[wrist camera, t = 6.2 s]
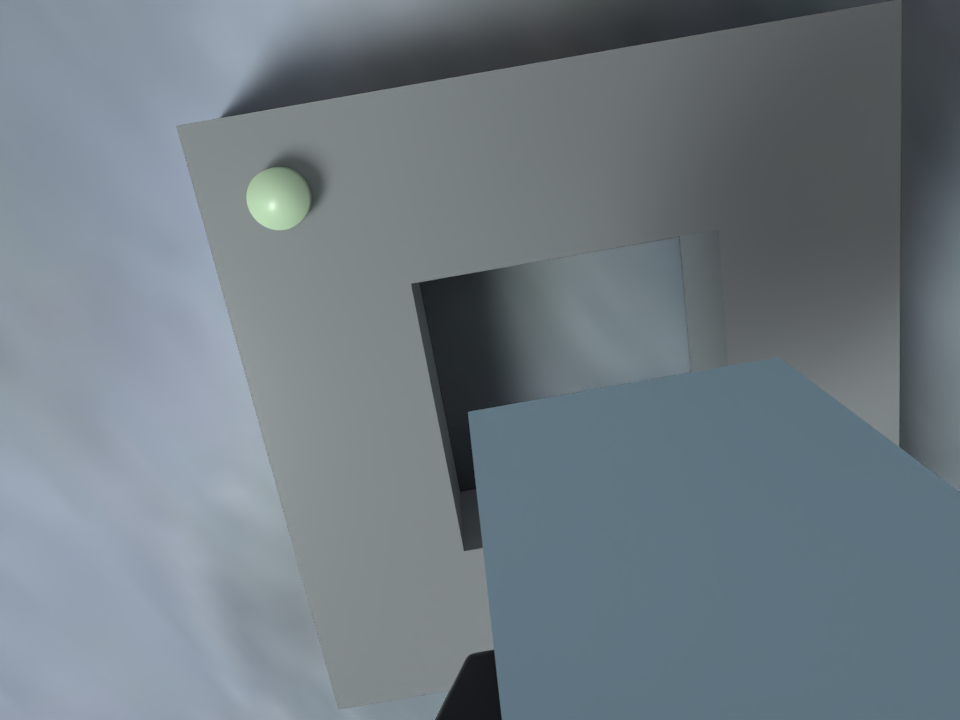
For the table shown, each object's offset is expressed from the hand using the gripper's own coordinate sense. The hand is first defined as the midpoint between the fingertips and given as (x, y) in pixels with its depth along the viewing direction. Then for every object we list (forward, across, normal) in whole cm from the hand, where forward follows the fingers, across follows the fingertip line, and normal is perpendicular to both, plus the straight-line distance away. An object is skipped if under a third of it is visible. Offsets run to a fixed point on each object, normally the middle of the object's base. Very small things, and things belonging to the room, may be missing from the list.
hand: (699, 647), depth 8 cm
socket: (+9, 0, 0) cm, 9 cm away
